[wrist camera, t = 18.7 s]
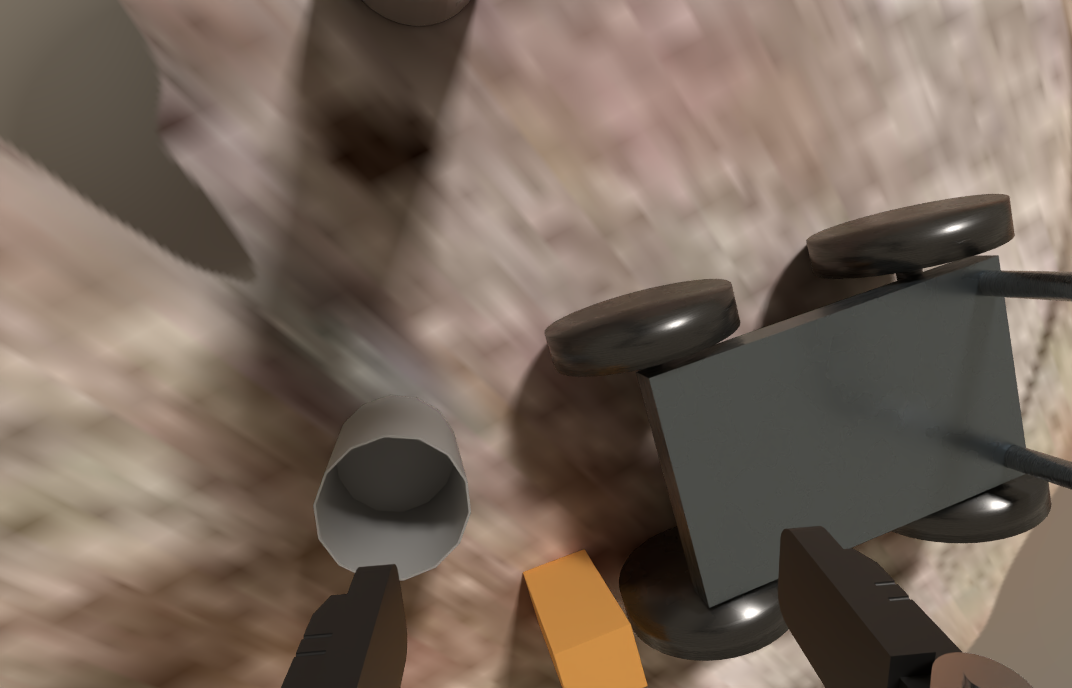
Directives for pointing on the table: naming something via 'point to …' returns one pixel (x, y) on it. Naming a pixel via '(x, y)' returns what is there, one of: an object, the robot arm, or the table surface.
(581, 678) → the orange rectangular block
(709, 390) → the trolley
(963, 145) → the table surface
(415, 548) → the cup
